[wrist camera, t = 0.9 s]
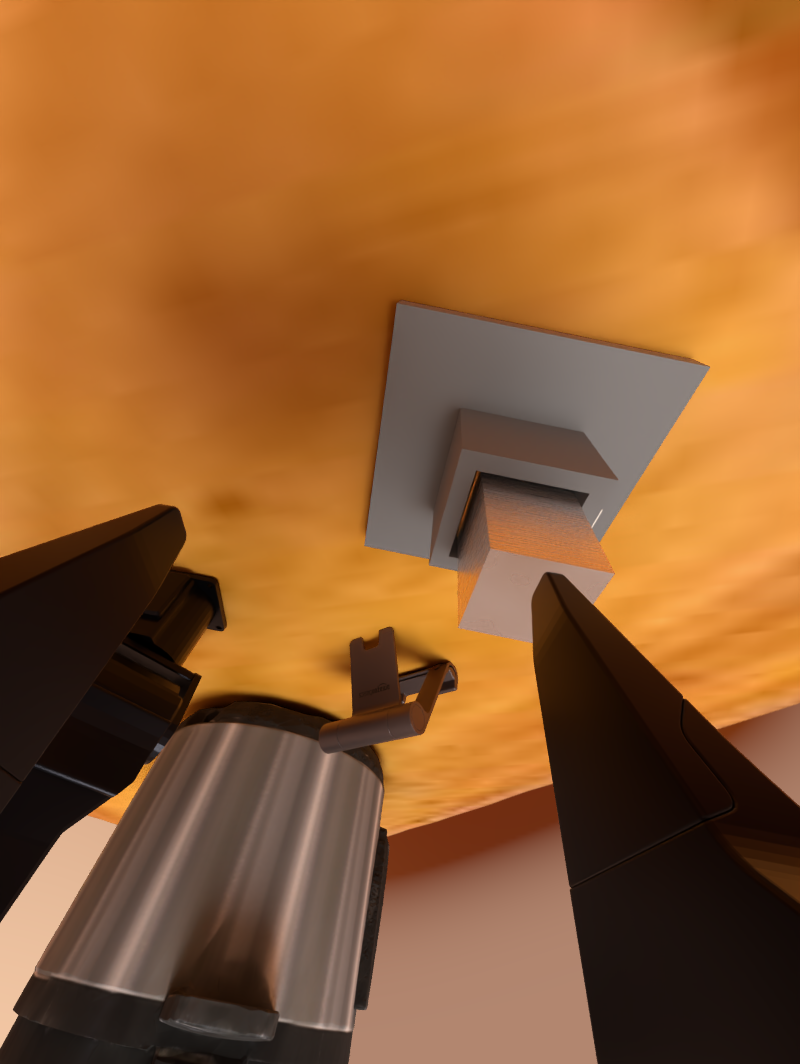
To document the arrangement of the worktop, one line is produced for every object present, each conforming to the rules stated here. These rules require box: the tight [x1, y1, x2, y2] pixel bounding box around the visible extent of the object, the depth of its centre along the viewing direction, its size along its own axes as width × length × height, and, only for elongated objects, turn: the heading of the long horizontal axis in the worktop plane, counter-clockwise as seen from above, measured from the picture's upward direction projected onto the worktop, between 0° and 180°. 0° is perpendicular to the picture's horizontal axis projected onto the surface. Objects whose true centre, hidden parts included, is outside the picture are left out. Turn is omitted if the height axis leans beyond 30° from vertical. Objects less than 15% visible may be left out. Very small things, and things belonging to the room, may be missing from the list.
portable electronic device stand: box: [319, 627, 458, 754], centre depth 31 cm, size 9×8×8 cm
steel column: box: [456, 471, 615, 643], centre depth 17 cm, size 4×4×9 cm
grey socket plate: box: [365, 300, 710, 571], centre depth 19 cm, size 14×14×6 cm
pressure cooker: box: [0, 701, 389, 1064], centre depth 36 cm, size 30×28×32 cm
